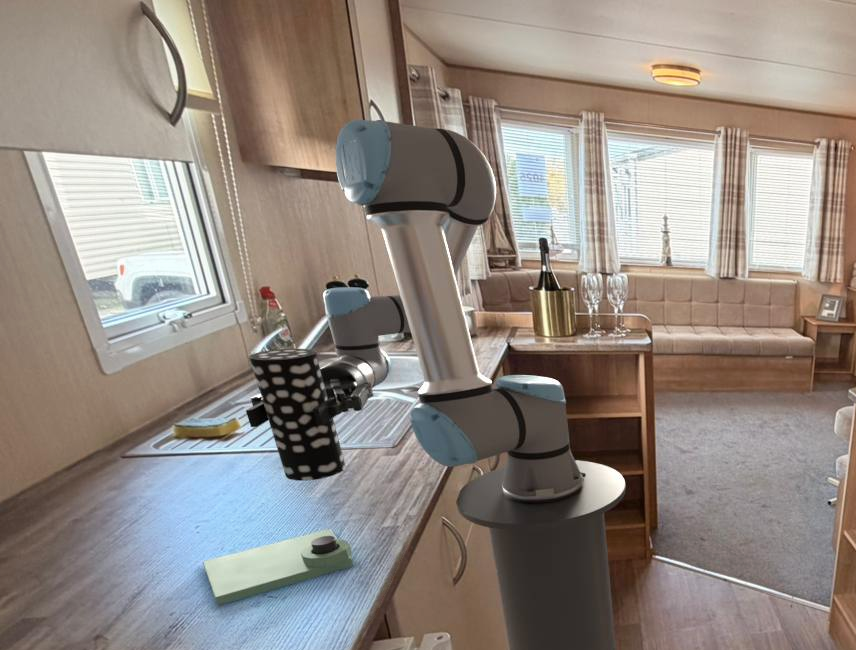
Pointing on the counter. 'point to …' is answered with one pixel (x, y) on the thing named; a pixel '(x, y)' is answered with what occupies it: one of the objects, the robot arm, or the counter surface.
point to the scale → (273, 567)
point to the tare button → (324, 545)
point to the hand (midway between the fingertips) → (284, 417)
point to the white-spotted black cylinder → (297, 413)
